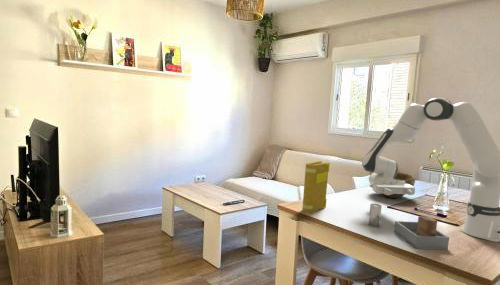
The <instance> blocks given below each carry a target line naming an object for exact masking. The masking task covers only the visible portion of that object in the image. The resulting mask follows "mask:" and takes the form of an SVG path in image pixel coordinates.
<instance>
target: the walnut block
mask: <svg viewBox="0 0 500 285" xmlns="http://www.w3.org/2000/svg"><path fill="white" fill-rule="evenodd" d="M417 222H418V225H417V234H416V235H417V236H435V235H436V230H437V226H438V220H437V219H435V218H434V217H432V216H423V215H421V216H420V215H419V216H418V218H417Z"/></svg>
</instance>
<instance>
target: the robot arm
mask: <svg viewBox="0 0 500 285" xmlns="http://www.w3.org/2000/svg"><path fill="white" fill-rule="evenodd" d="M428 120H431V121H436V122H437V121H444V120H449V121H450V122H451V123H452V125H453V126H454V128H455V130H456V132H457V134H458V136H459V138H460V140H461V142H462V144H463V145H464V148H465V149H466V151H467V154H468V156H469V158H470V160H471V162H472V163H473V170H472V179H471V188H470V196H469V201H468V203H467V211H466V212H467V214H466V216H465V221H464V223H463V225H462V227H461V231H462V232H463V233H465V235H466V234H467V235H469V236H472V237H476V238H479V239H482V240H487V241H490V242H494V243H499V242H500V206H499V205H500V149H499V148H498V145H497V144H496V142H495V140H494V138H493V137H492V135H491V133H490V132H489V130H488V127H487V126H486V124H485V122H484V120H483V118H482V117H481V115H480V113H479V112H478V111H477V109H476V108H475V107H474V106H473V104H471V103H470V102H468V101H461V102H458V103H455V104H454V103H452V102H451V100H449V99H447V98H443V97H433V98H430V99H428V100H427V101H426V102H425V103H424V104H420V103H411V104H409V105H408V106H407V108H406V109H405V110H404V111H403V113H402V114H401V116H400V118H399V119H398V121H397V123H395V125H394V126H392V127H390V128H387V129H386V130H385V131H384V132H383V133H382V135H381V136H380V137H379V138H378V140H377V141H376V142H375V144H374V145H373V146H372V148H371V149H370V150H369V151H368V152H367V154H365V155H364V157H363V159H362V162H361V166H362V167H363V169H364V170H365V171H366V172H368V173H370V172H373V173H372V174H371V175H370V174H369V176H368V181H369V184H370V185H369V188H372V189H371V190H372V191H373V192H374V193H376V194H381V193H384V194H386V195H391V194H405V195H407V196H412V195H415V194H416V188H415V186H412V185H410V184H407V183H405V181H401V180H395V179H394V178H395V177H396V175H397V172H399V168H398V167H399V165H398V163H397V162H396V161H395V160H393V159H390V158H387V157H384V156H381V153H382V152H383V151H384V150H385V149H386V147H387V146H388V145H389V144H391V143H397V142H409V141H412V140H413V139H415V138H416V137H417V136H418V134H419V133H420V130H421V129H422V127H423V125H424V124H425V123H426V121H428Z"/></svg>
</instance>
